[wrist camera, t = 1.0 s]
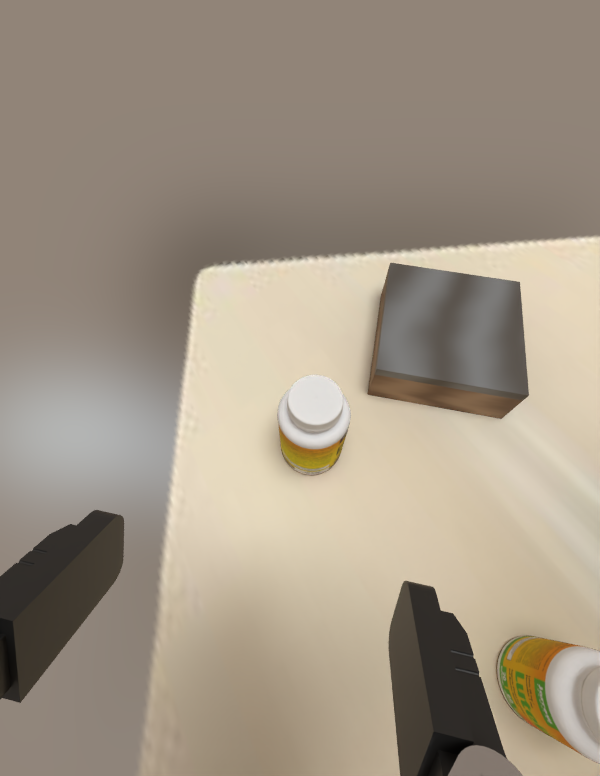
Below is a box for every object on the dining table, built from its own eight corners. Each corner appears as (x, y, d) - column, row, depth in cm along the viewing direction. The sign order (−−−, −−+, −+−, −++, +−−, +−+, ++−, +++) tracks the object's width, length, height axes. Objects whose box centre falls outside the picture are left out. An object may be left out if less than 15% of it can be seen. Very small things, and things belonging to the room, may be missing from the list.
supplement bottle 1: (341, 477, 35) (357, 437, 26) (279, 475, 35) (273, 435, 26) (340, 419, 37) (353, 365, 28) (282, 418, 37) (277, 363, 28)
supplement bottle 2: (479, 659, 28) (558, 689, 20) (535, 620, 30) (632, 633, 21) (530, 744, 26) (644, 820, 18) (588, 699, 27) (722, 749, 19)
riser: (497, 313, 43) (519, 282, 39) (501, 418, 37) (528, 395, 33) (381, 295, 44) (390, 262, 40) (367, 394, 38) (376, 368, 34)
